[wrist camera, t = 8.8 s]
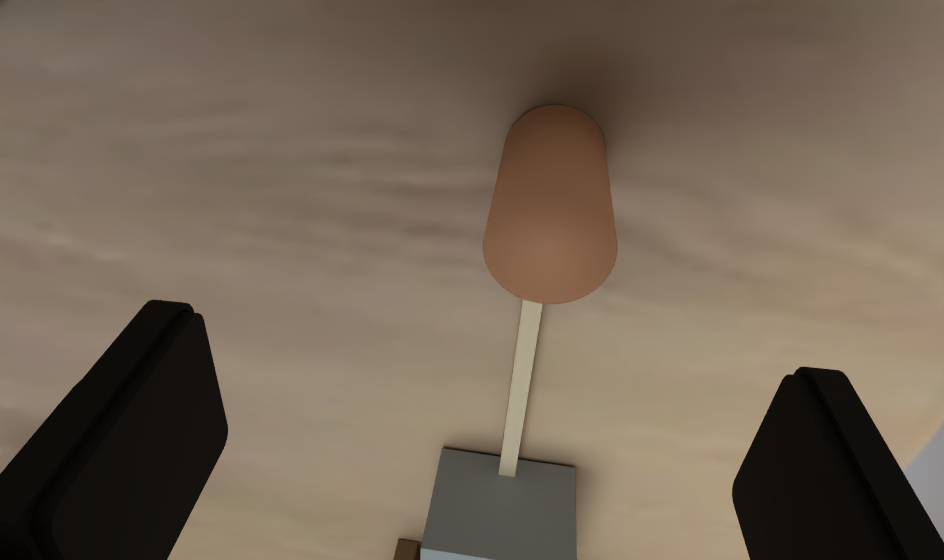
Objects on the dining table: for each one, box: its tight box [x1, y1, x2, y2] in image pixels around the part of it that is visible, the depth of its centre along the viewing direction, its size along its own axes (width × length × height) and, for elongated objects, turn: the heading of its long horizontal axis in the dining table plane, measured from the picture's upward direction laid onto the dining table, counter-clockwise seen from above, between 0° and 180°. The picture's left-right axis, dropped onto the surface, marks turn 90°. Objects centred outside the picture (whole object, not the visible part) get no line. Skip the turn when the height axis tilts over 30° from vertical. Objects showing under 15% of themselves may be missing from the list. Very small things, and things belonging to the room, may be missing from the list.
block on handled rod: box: [420, 104, 617, 560], centre depth 23 cm, size 22×6×6 cm, turn 176°
